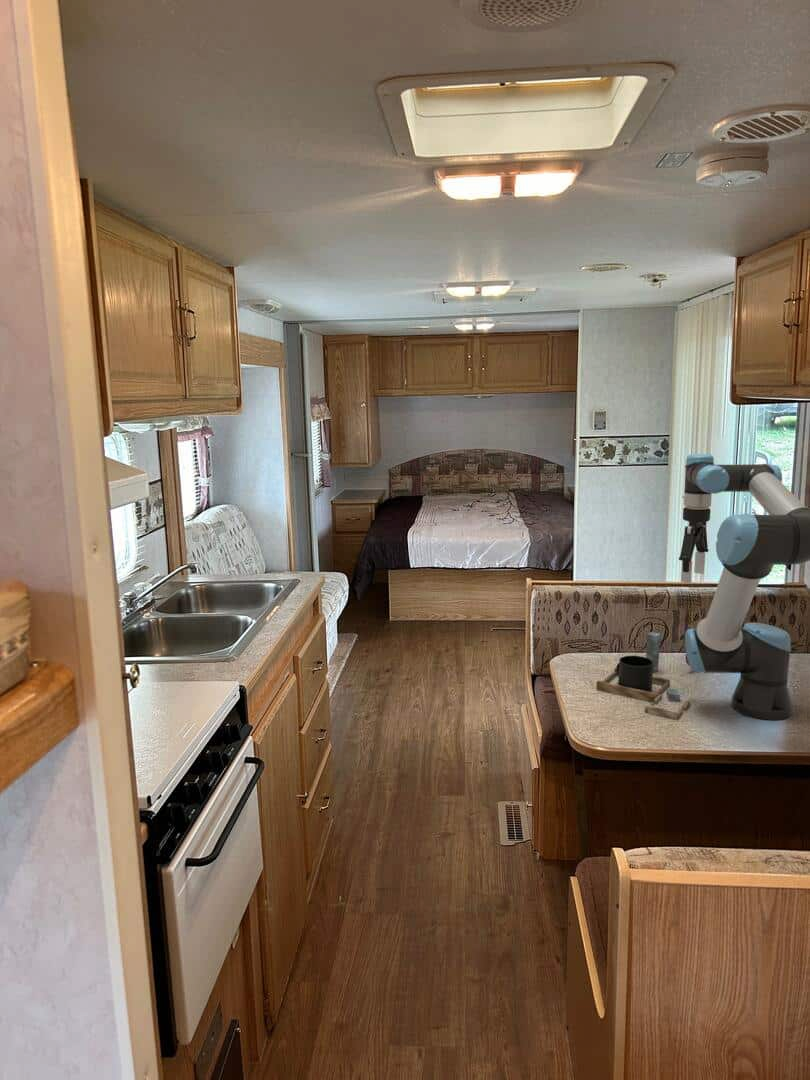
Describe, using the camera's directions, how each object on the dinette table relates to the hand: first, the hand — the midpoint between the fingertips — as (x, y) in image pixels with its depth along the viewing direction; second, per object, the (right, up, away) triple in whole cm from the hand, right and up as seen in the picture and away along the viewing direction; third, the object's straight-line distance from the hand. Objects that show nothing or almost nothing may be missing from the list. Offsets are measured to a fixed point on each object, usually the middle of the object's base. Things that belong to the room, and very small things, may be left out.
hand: (692, 577), depth 230 cm
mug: (-19, -33, -4) cm, 38 cm away
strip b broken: (-12, -35, -16) cm, 40 cm away
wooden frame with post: (-16, -31, +1) cm, 35 cm away
